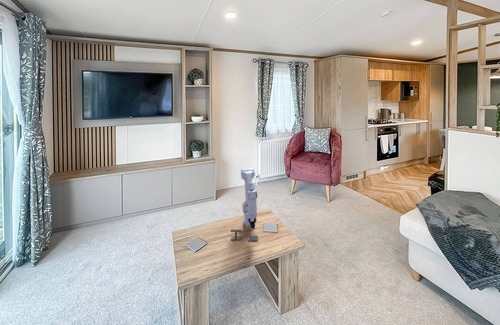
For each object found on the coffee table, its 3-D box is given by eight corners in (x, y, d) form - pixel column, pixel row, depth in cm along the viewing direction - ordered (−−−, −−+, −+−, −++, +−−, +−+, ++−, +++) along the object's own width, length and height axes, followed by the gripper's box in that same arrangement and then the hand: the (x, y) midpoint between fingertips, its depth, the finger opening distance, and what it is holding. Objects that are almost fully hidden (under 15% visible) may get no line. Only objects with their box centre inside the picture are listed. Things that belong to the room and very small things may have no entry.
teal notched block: (250, 225, 182) (250, 218, 181) (255, 225, 182) (254, 218, 181) (250, 229, 177) (250, 222, 176) (254, 229, 177) (254, 221, 176)
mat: (249, 236, 185) (249, 235, 185) (258, 236, 185) (258, 235, 185) (248, 241, 179) (248, 240, 179) (257, 241, 179) (257, 240, 178)
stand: (231, 236, 186) (231, 228, 184) (241, 236, 185) (241, 228, 184) (230, 240, 181) (230, 231, 179) (240, 240, 180) (240, 231, 179)
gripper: (247, 203, 184) (247, 221, 187) (245, 212, 169) (246, 231, 173) (257, 203, 183) (257, 221, 186) (256, 212, 169) (257, 231, 172)
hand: (253, 226), depth 180 cm, fingers closed on teal notched block, 5 cm apart
